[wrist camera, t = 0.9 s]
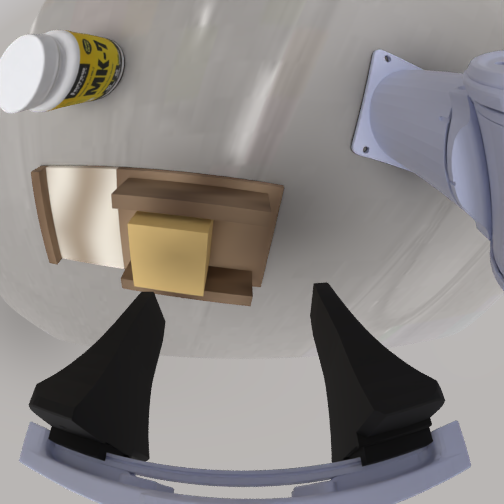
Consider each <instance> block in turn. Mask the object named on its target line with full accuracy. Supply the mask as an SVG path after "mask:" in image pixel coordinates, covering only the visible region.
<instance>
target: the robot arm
mask: <svg viewBox="0 0 504 504" xmlns="http://www.w3.org/2000/svg"><path fill="white" fill-rule="evenodd" d="M385 56H387V57H388V62H386V61H385V58H384V57H385ZM365 146H367V151H366V152H363V147H365ZM351 148H352V151H353V152H354V153H356V154H358V155H361V156H364V157H368V158H371V159H374V160H378V161H381V162H384V163H387V164H390V165H393V166H396V167H399V168H402V169H405V170H408V171H411V172H413V173H415V174H416V175H418V176H419V177H421V178H422V179H424V180H425V181H426V182H428V183H429V184H430V185H432V186H433V187H435V188H436V189H437V190H439V191H440V192H441V193H443V194H444V195H445V196H446V197H448V198H449V199H450V200H452V201H453V202H454V203H455V204H457V205H458V206H459V207H460V208H461V209H463V210H464V211H465V212H466V213H467V214H469V215H470V216H471V217H472V218H473V219H474V220H475V222H476V226H477V229H478V230H479V231H480V232H481V233H482V234H483V235H485V236H486V237H487V238H488V239H489V240H490V241H491V242H490V263H491V267H492V271H493V273H494V276H495V278H496V280H497V282H498V284H499V285H500V287H501V288H502V289H503V291H504V50H500V51H494V52H489V53H485V54H482V55H479V56H477V57H475V58H474V59H472V60H471V62H470V64H469V66H468V68H467V69H466V70H465V72H464V74H463V73H454V72H443V71H429V70H423V69H421V68H419V67H417V66H415V65H413V64H411V63H409V62H407V61H405V60H403V59H401V58H399V57H397V56H395V55H393V54H391V53H388V52H386V51H384V50H381V49H379V50H375V51H374V52H373V55H372V60H371V65H370V70H369V75H368V80H367V84H366V89H365V93H364V98H363V102H362V106H361V110H360V114H359V118H358V122H357V126H356V130H355V134H354V138H353V142H352V146H351ZM310 317H311V325H312V331H313V337H314V341H315V344H316V348H317V352H318V356H319V359H320V363H321V367H322V371H323V375H324V379H325V385H326V392H327V400H328V408H329V418H330V431H331V447H332V448H331V449H332V450H331V451H332V463H329V464H322V465H315V466H308V467H299V468H289V469H278V470H255V471H229V470H207V469H195V468H185V467H177V466H169V465H162V464H156V463H150V462H146V461H147V460H148V459H149V442H148V425H149V406H150V395H151V387H152V381H153V377H154V373H155V369H156V365H157V361H158V358H159V354H160V350H161V346H162V342H163V336H164V328H165V319H164V317H163V314H162V312H161V310H160V307H159V304H158V302H157V299H156V297H155V294H154V291H152V292H141V293H140V294H139V295H138V296H137V298H136V299H135V300H134V301H133V302H132V303H131V305H130V306H129V307H128V308H127V309H126V310H125V312H124V313H123V314H122V315H121V316H120V317H119V318H118V320H117V321H116V322H115V323H114V324H113V325H112V326H111V327H110V328H109V329H108V331H107V332H106V333H105V334H104V335H103V336H102V337H101V338H100V339H99V340H98V341H97V342H96V343H95V344H94V345H93V346H92V347H90V348H89V349H88V350H87V351H86V352H85V353H84V354H82V355H81V356H80V357H79V358H77V359H76V360H75V361H73V362H72V363H71V364H70V365H68V366H67V367H65V368H64V369H63V370H61V371H59V372H58V373H56V374H54V375H53V376H51V377H49V378H47V379H45V380H44V381H42V382H40V383H38V384H37V385H36V387H35V390H34V392H33V395H32V398H31V400H30V403H29V407H30V409H31V410H32V411H33V412H34V413H35V414H36V415H38V416H39V417H40V418H42V419H43V420H44V421H46V422H47V423H48V424H50V425H51V426H52V427H51V431H50V430H48V429H47V428H45V427H42V426H40V425H38V424H36V423H33V422H30V424H29V427H28V430H27V434H26V437H25V440H24V444H23V447H22V451H21V455H20V459H19V461H20V462H21V463H22V464H24V465H25V466H27V467H29V468H30V469H32V470H34V471H35V472H38V473H39V474H41V475H42V476H44V477H46V478H48V479H50V480H51V481H53V482H55V483H57V484H59V485H60V486H62V487H65V488H66V489H68V490H70V491H72V492H74V493H77V494H79V495H81V496H83V497H85V498H88V499H90V500H92V501H95V502H97V503H99V504H396V503H398V502H401V501H404V500H406V499H408V498H411V497H413V496H416V495H418V494H420V493H422V492H424V491H426V490H429V489H431V488H432V487H435V486H437V485H439V484H441V483H443V482H445V481H447V480H449V479H450V478H452V477H454V476H456V475H458V474H460V473H461V472H463V471H465V470H467V469H468V468H470V467H471V463H470V459H469V455H468V452H467V448H466V445H465V441H464V438H463V435H462V432H461V429H460V426H459V423H458V421H454V422H451V423H449V424H447V425H445V426H443V427H440V428H438V429H436V430H434V431H432V432H430V428H429V427H430V426H431V425H432V423H431V419H430V417H431V416H432V415H433V414H434V413H436V412H437V411H438V410H439V409H440V408H441V407H442V405H443V404H444V401H445V399H444V396H443V393H442V391H441V388H440V386H439V384H438V382H437V381H436V380H434V379H432V378H431V377H429V376H427V375H425V374H423V373H421V372H419V371H418V370H416V369H414V368H413V367H411V366H410V365H408V364H406V363H405V362H404V361H402V360H401V359H400V358H398V357H397V356H396V355H394V354H393V353H392V352H390V351H389V350H388V349H387V348H386V347H384V346H383V345H382V344H381V343H380V342H379V341H378V340H376V339H375V338H374V337H373V336H372V335H371V334H370V333H369V332H368V331H367V330H366V329H365V328H364V327H363V325H362V324H361V323H360V322H359V321H358V320H357V319H356V318H355V317H354V315H353V314H352V313H351V312H350V311H349V310H348V308H347V307H346V306H345V305H344V303H343V302H342V301H341V300H340V298H339V297H338V296H337V294H336V293H335V292H334V290H333V289H332V288H331V286H330V285H329V284H328V283H315V284H314V286H313V296H312V304H311V313H310ZM134 474H135V475H140V476H144V477H150V478H154V479H160V480H166V481H173V482H181V483H188V484H198V485H209V486H228V487H259V486H260V487H261V486H280V485H292V484H301V483H310V482H317V481H323V480H329V479H331V480H330V481H325V482H320V483H314V484H310V485H304V486H298V487H295V488H294V491H292V497H290V498H273V499H230V498H213V497H200V496H191V495H183V494H174V489H173V488H171V487H168V486H164V485H161V484H159V483H157V482H155V481H151V480H147V479H143V478H139V477H136V476H135V475H134Z"/></svg>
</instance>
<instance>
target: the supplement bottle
mask: <svg viewBox="0 0 504 504" xmlns="http://www.w3.org/2000/svg"><path fill="white" fill-rule="evenodd" d="M123 68H124V57H123V53H122V50H121V48H120V47H119V46H118V45H117V44H116V43H115V42H114V41H112V40H109V39H106V38H102V37H98V36H93V35H88V34H83V33H78V32H72V31H67V30H52V31H49V32H46V33H44V34H27V35H23V36H21V37H19V38H18V39H17V40H15V41H14V42H13V43H11V44H10V45H9V47H8V48H7V49H6V50H5V52H4V54H3V56H2V57H1V59H0V108H1V109H2V110H3V111H5V112H7V113H17V112H21V111H25V110H30V111H33V112H46V111H50V110H54V109H57V108H61V107H66V106H70V105H74V104H79V103H84V102H89V101H94V100H97V99H100V98H102V97H104V96H105V95H107V94H108V93H110V92H111V91H112V90H113V89H114V88H115V86H116V85H117V83H118V82H119V80H120V78H121V76H122V72H123Z"/></svg>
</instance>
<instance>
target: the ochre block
mask: <svg viewBox="0 0 504 504" xmlns="http://www.w3.org/2000/svg"><path fill="white" fill-rule="evenodd" d="M212 229H213V220H211V219H203V218H195V217H187V216H179V215H170V214H161V213H152V212H143V211H137V212H136V213H135V214H134V216H133V217H132V218H131V220H130V221H129V222H128V236H129V247H130V257H131V265H132V273H133V281H134V286H136V287H142V288H149V289H155V290H162V291H168V292H175V293H182V294H189V295H197V296H203V295H204V289H205V283H206V277H207V272H208V266H209V260H210V249H211V239H212Z"/></svg>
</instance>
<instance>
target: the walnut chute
mask: <svg viewBox="0 0 504 504" xmlns="http://www.w3.org/2000/svg"><path fill="white" fill-rule="evenodd" d="M31 177H32V185H33V191H34V197H35V203H36V209H37V214H38V219H39V223H40V228H41V232H42V236H43V240H44V244H45V248H46V252H47V255H48V259H49V262H50V263H53V264H58V263H59V262H60V260H61V259H62V258H64V259H69V260H75V261H80V262H86V263H92V264H98V265H103V266H110V267H116V268H122V269H125V271H124V273H123V275H122V277H121V283H122V288H124V289H130V290H136V291H142V292H152V291H154V294H161V295H167V296H174V297H181V298H188V299H195V300H203V301H211V302H219V303H227V304H236V305H245V306H251V301H252V297H253V294H252V286H254V287H261V283H262V279H263V275H264V271H265V267H266V263H267V258H268V254H269V250H270V246H271V242H272V238H273V233H274V229H275V225H276V221H277V216H278V212H279V208H280V203H281V199H282V195H283V190H284V186H283V185H278V184H272V183H266V182H259V181H253V180H246V179H239V178H231V177H224V176H216V175H207V174H199V173H189V172H179V171H168V170H156V169H143V168H127V167H106V166H40V167H38V168H37V169H35V170H33V171H32V172H31ZM137 211H143V212H152V213H161V214H170V215H179V216H187V217H195V218H203V219H211V220H213V229H212V239H211V249H210V260H209V266H208V272H207V277H206V283H205V289H204V295H203V296H197V295H189V294H182V293H175V292H168V291H162V290H155V289H149V288H142V287H136V286H134V281H133V273H132V265H131V257H130V247H129V236H128V222H129V221H130V220H131V218H132V217H133V216H134V214H135V213H136V212H137Z"/></svg>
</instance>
